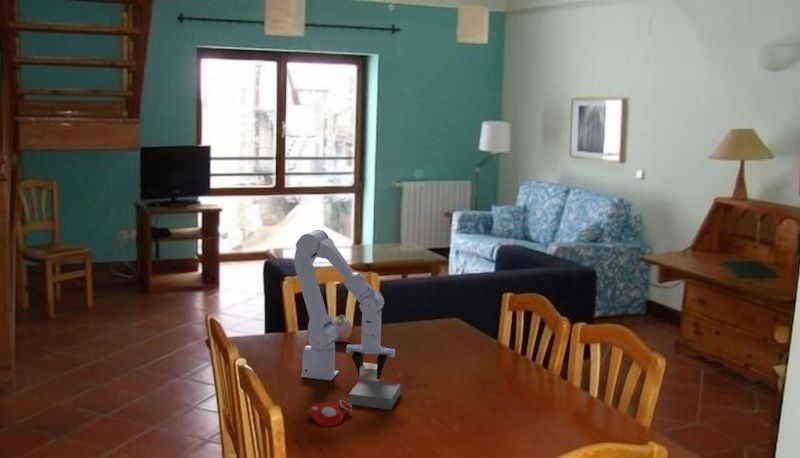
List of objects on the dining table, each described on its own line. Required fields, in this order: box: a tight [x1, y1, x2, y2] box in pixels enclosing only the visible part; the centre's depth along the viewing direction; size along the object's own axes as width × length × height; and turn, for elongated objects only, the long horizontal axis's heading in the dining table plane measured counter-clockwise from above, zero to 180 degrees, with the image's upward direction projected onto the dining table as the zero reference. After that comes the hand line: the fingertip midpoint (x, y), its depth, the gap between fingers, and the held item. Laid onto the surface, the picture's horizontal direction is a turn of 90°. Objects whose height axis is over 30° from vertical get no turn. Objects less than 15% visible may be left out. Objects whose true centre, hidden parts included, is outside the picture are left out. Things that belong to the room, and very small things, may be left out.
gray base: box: [347, 380, 402, 410], centre depth 225 cm, size 12×12×3 cm
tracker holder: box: [306, 399, 353, 427], centre depth 211 cm, size 12×4×10 cm
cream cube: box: [358, 362, 381, 382], centre depth 238 cm, size 5×5×5 cm
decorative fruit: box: [332, 314, 353, 343], centre depth 276 cm, size 9×8×10 cm
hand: (369, 377), depth 239 cm, fingers closed on cream cube, 5 cm apart
